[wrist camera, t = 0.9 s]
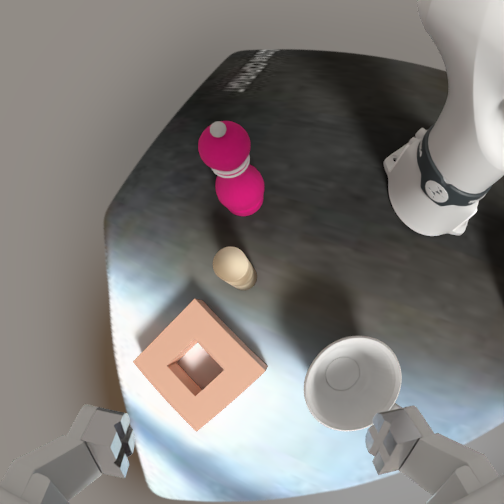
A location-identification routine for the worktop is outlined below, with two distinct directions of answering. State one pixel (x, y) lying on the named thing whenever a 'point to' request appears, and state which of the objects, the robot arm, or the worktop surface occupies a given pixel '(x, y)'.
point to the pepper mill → (232, 167)
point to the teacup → (352, 383)
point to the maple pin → (234, 268)
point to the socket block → (217, 346)
